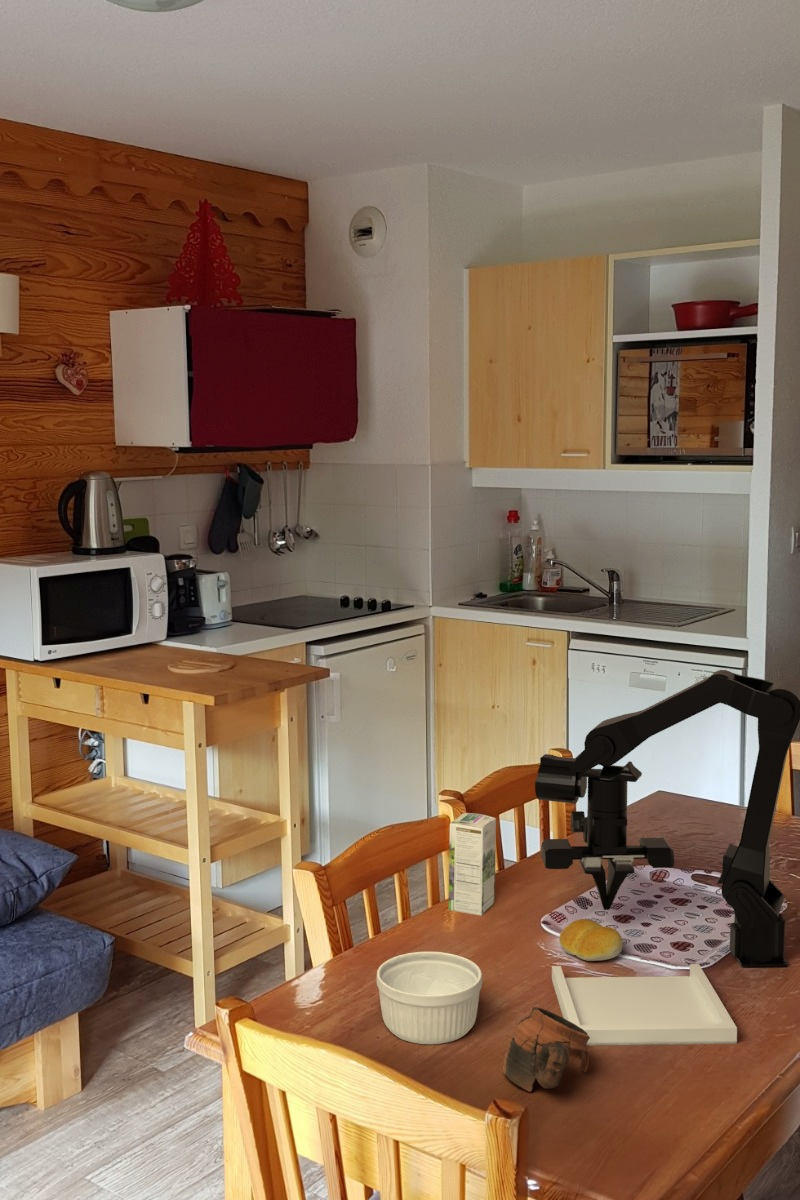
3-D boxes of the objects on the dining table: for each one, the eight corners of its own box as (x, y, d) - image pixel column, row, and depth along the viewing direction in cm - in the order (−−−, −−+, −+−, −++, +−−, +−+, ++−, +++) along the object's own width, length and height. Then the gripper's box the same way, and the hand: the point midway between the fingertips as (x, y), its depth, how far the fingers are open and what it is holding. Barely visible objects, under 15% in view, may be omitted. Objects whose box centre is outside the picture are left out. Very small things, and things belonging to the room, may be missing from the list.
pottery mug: (489, 1060, 142) (517, 994, 143) (559, 1092, 142) (587, 1026, 144) (511, 1092, 130) (542, 1020, 131) (588, 1127, 131) (618, 1055, 132)
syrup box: (461, 898, 192) (461, 811, 190) (496, 904, 190) (496, 815, 188) (448, 911, 187) (447, 821, 185) (483, 917, 185) (483, 826, 183)
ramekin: (457, 994, 159) (457, 944, 158) (499, 1039, 147) (500, 985, 146) (363, 1011, 155) (362, 959, 154) (398, 1059, 142) (398, 1003, 141)
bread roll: (597, 967, 165) (596, 940, 165) (550, 949, 172) (549, 923, 172) (636, 950, 170) (635, 923, 170) (589, 933, 177) (588, 907, 177)
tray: (698, 978, 163) (698, 964, 163) (736, 1043, 145) (737, 1028, 145) (551, 980, 163) (551, 966, 162) (571, 1045, 145) (572, 1030, 145)
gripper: (658, 790, 183) (657, 888, 185) (537, 791, 183) (536, 889, 185) (675, 812, 172) (673, 916, 174) (546, 813, 172) (545, 917, 174)
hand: (606, 909), depth 177 cm, fingers closed
